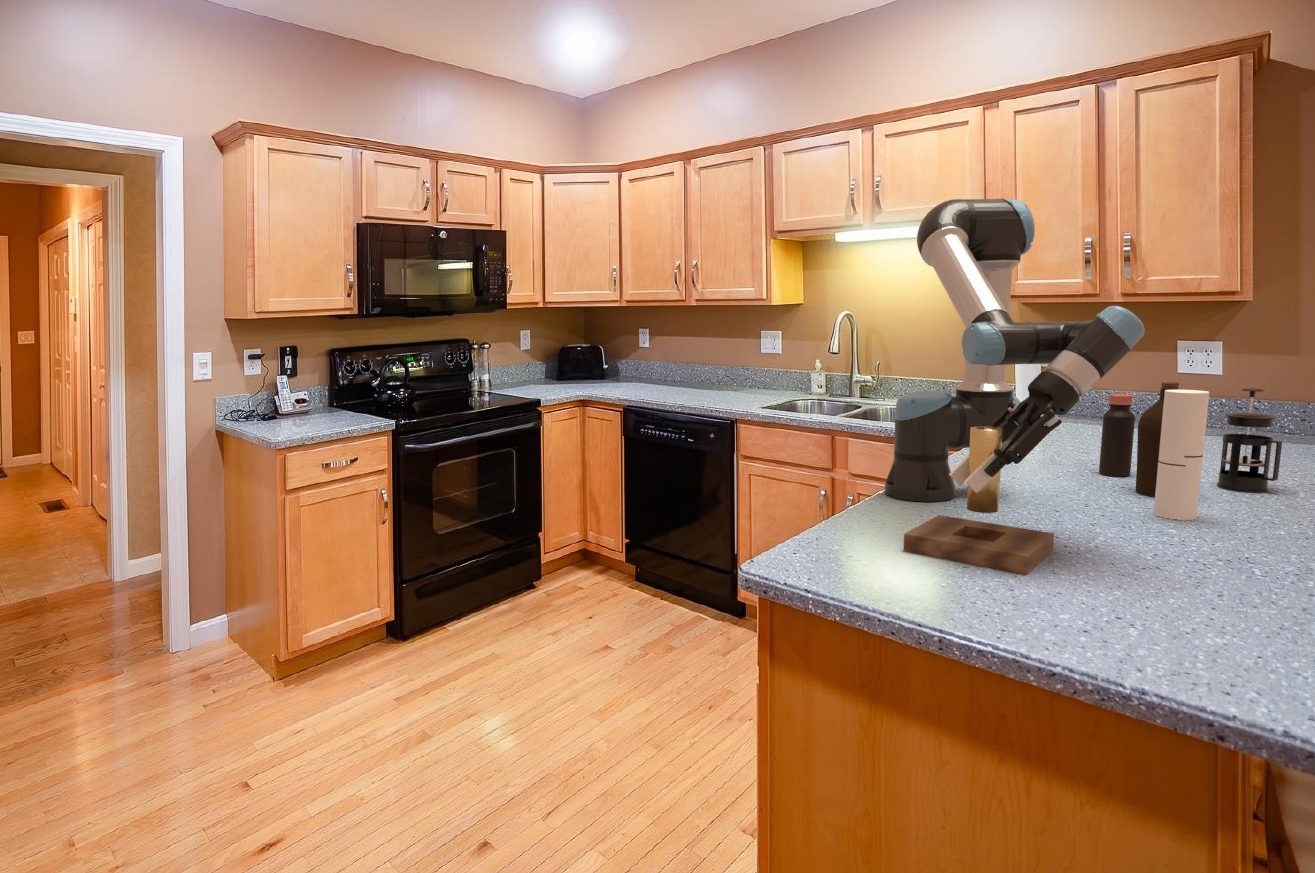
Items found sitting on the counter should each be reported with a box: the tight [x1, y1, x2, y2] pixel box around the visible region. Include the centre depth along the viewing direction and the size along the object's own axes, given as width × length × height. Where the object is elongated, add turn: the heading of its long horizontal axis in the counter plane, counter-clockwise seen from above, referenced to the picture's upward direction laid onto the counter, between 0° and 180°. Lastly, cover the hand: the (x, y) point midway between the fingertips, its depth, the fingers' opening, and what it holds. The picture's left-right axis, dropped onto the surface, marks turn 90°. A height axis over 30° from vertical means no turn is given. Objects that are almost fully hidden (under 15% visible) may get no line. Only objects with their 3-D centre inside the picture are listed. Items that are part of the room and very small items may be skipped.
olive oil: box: [1135, 381, 1180, 498], centre depth 168 cm, size 11×11×25 cm
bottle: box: [1098, 393, 1136, 478], centre depth 189 cm, size 7×7×20 cm
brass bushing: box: [966, 426, 1003, 514], centre depth 128 cm, size 5×5×14 cm
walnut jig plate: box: [903, 514, 1055, 576], centre depth 131 cm, size 20×16×3 cm
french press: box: [1216, 387, 1283, 494], centre depth 172 cm, size 12×9×23 cm
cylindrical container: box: [1153, 389, 1210, 521], centre depth 150 cm, size 7×7×25 cm
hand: (962, 483), depth 128 cm, fingers closed on brass bushing, 5 cm apart
